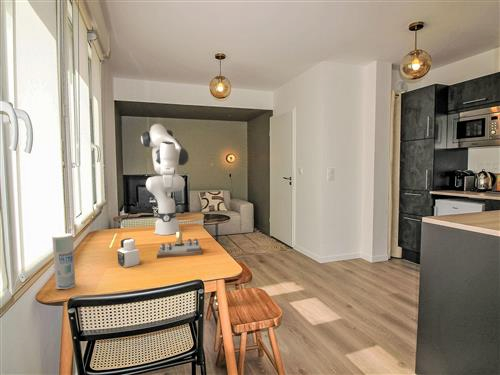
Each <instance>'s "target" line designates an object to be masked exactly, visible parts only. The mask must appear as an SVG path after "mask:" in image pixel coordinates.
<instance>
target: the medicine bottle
mask: <svg viewBox="0 0 500 375" xmlns="http://www.w3.org/2000/svg"><path fill="white" fill-rule="evenodd" d="M135 240H136V239H135V238H131V237H129V238H123V239H122V240H121V241H120V248H119V249H117V265H119V266H120V267H122V268H124V269H126V268H130V267H134V266H137V265H140V249H138V248H136V241H135Z"/></svg>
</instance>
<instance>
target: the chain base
mask: <svg viewBox="0 0 500 375" xmlns="http://www.w3.org/2000/svg"><path fill="white" fill-rule="evenodd" d="M159 250H160V248H159V249H158V250H157V252H156V259H163V258H174V257H175V258H176V257H188V256H189V257H190V256H201V255H202V254H203V253H202V246H201V245H199V251H191V252H177V253H163V254H159Z"/></svg>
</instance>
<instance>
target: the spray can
mask: <svg viewBox="0 0 500 375" xmlns="http://www.w3.org/2000/svg"><path fill="white" fill-rule="evenodd" d="M52 250H53V263H54V264H53V265H54V276H55V277H54V278H55V289H56V288H57V289H66V290H69V289H72V288H74V287H75V286H76V277H75V276H76V275H75V274H76V272H75V254H74V253H75V252H74V251H75V250H74V234H73V233H71V232H70V233H67V232H66V233H58V234H55V235H53V236H52ZM68 288H69V289H68ZM57 289H56V290H57Z"/></svg>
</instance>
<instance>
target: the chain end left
mask: <svg viewBox="0 0 500 375" xmlns="http://www.w3.org/2000/svg"><path fill="white" fill-rule="evenodd" d="M172 247H173V243H172V242H169V243H167V246H166V244H165V243H161V245H160V247H159V249H160V250H159V249H158V250H159V254H163V253H177V252H187V249H179V250H173V249H172Z"/></svg>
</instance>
